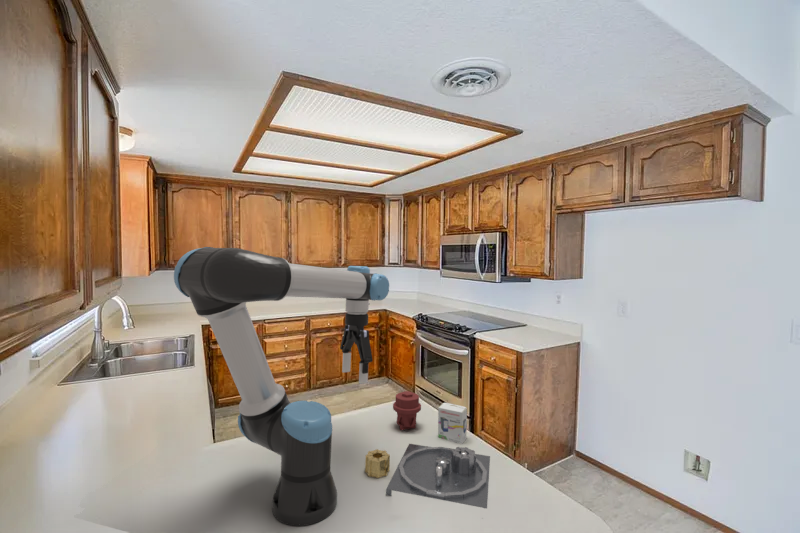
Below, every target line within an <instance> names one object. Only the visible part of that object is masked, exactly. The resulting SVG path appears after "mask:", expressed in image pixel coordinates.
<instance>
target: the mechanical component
mask: <svg viewBox="0 0 800 533" xmlns="http://www.w3.org/2000/svg"><path fill="white" fill-rule="evenodd" d="M392 409H393V411H395V412H396V415H397V416H396V424H397V426H399V430H400V431H406V430H409V429H413V430H414V429H416V428H417V415H418V414H417V413H420V411H421V410H422V404H421V403H420V396H419V394H417V393H416V392H412V391H409V390H405V391H401V392H398V393H397V394H396V395H395V401H394V402H393V403H392Z"/></svg>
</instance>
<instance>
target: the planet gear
mask: <svg viewBox="0 0 800 533" xmlns="http://www.w3.org/2000/svg"><path fill="white" fill-rule="evenodd" d="M390 458H391V455H390V453H388V452H387V451H386V450H385V449H384V450H381V449H377V448H376V449H374V450H369V451H367V454H365V459H364V460H365V463H364V465H365V466H364V467H365V468H364V472H365V473H366V474H367V476H368V477H369V478H371V477H372V478H376V479H380V478H382V477H387V476H388V473H389V472H390V466H391V464H390V461H391V459H390Z"/></svg>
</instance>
